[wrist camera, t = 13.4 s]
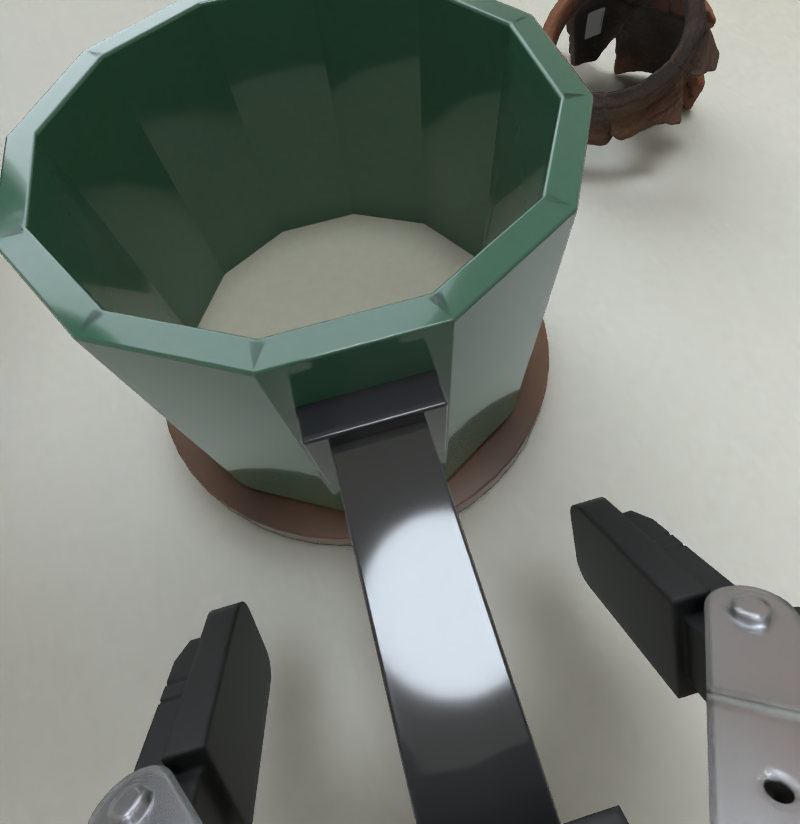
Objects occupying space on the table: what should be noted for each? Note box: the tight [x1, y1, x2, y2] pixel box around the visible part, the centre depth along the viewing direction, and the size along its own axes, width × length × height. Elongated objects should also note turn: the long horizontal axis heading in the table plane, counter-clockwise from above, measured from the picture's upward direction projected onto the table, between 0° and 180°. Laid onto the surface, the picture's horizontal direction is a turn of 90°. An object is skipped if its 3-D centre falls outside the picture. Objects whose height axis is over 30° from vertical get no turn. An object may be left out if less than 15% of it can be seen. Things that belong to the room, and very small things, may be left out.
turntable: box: [166, 319, 549, 545], centre depth 22 cm, size 17×17×1 cm
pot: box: [0, 0, 594, 824], centre depth 15 cm, size 25×15×10 cm, turn 15°
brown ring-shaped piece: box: [543, 0, 719, 146], centre depth 27 cm, size 12×10×8 cm
